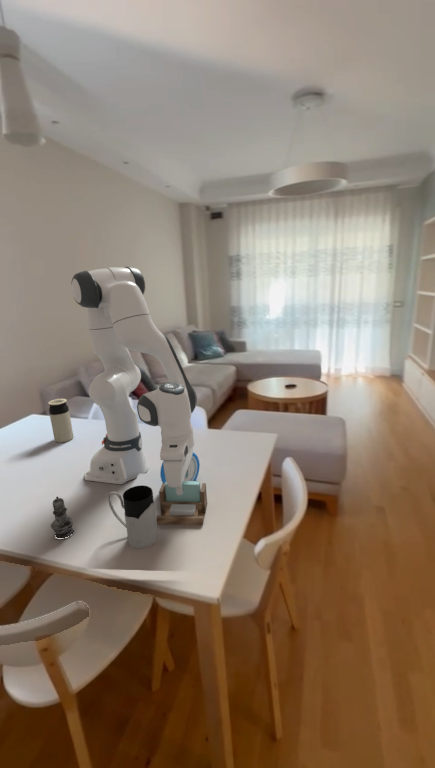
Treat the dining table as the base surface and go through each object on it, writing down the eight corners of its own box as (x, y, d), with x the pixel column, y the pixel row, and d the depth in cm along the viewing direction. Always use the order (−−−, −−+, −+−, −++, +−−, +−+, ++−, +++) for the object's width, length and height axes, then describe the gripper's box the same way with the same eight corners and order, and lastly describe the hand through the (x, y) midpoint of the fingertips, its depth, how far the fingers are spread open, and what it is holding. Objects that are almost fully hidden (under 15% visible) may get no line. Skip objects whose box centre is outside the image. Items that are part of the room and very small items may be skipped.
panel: (167, 509, 112) (164, 484, 109) (168, 506, 114) (166, 481, 111) (200, 510, 111) (198, 484, 108) (201, 506, 112) (199, 481, 110)
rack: (157, 528, 106) (154, 501, 104) (165, 507, 116) (163, 482, 113) (203, 529, 105) (201, 502, 102) (207, 507, 114) (205, 482, 112)
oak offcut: (165, 520, 107) (164, 515, 106) (167, 513, 110) (167, 508, 109) (196, 521, 106) (196, 516, 105) (198, 514, 109) (197, 509, 109)
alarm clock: (175, 500, 119) (171, 456, 115) (161, 494, 123) (156, 452, 119) (201, 481, 129) (198, 440, 125) (187, 476, 133) (184, 437, 128)
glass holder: (148, 557, 95) (142, 506, 91) (103, 544, 101) (95, 495, 97) (166, 535, 103) (161, 487, 99) (124, 524, 109) (117, 478, 104)
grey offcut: (169, 515, 106) (169, 510, 106) (172, 509, 109) (171, 504, 109) (194, 516, 106) (194, 511, 105) (196, 509, 109) (195, 504, 108)
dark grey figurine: (57, 528, 109) (49, 491, 105) (77, 526, 109) (71, 489, 106) (50, 541, 103) (42, 503, 100) (72, 539, 104) (64, 501, 100)
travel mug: (69, 442, 166) (62, 403, 161) (51, 443, 166) (44, 404, 161) (76, 435, 173) (69, 397, 168) (59, 435, 174) (52, 398, 168)
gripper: (174, 426, 116) (179, 466, 120) (158, 457, 96) (164, 504, 100) (195, 425, 115) (199, 466, 119) (182, 457, 96) (188, 504, 99)
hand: (183, 484), depth 109 cm, fingers open, 8 cm apart
